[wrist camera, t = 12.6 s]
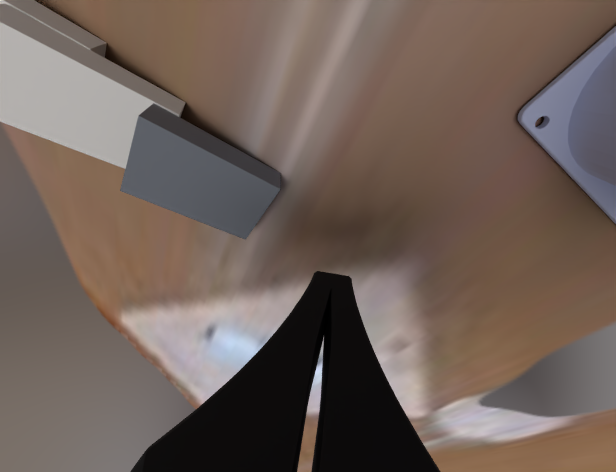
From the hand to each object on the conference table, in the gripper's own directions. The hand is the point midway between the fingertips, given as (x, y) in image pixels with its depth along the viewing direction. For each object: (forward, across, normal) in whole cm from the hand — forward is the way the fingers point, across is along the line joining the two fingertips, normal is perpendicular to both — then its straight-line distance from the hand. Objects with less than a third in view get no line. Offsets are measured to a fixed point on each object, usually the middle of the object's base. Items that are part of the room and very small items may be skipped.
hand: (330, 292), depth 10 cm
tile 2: (+6, +10, -3) cm, 12 cm away
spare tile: (+6, +5, 0) cm, 8 cm away
